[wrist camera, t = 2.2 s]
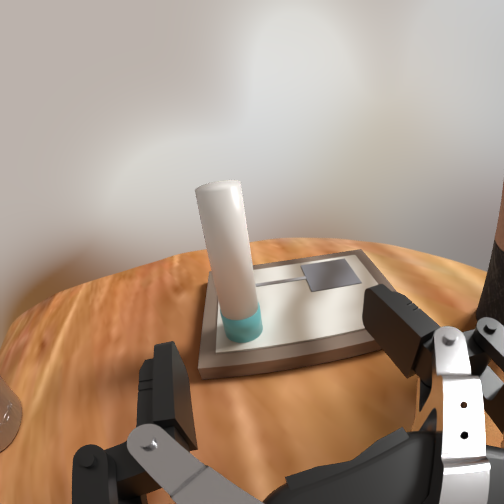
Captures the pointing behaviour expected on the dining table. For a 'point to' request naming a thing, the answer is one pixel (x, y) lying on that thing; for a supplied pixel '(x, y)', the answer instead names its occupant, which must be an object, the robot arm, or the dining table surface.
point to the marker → (230, 258)
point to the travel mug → (494, 277)
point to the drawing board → (295, 316)
